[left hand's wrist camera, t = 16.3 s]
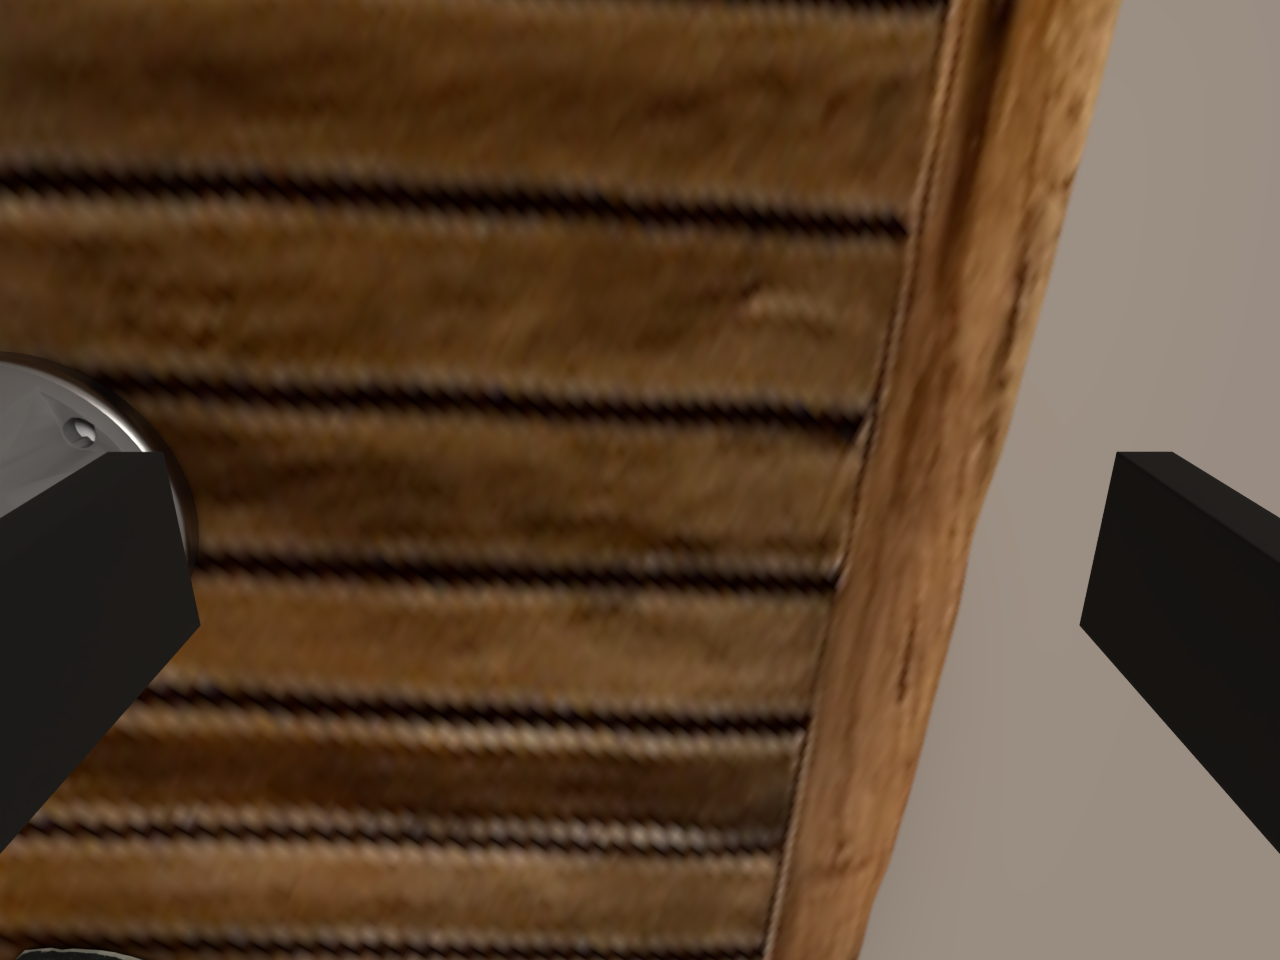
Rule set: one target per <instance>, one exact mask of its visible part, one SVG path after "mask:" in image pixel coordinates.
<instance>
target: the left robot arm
mask: <svg viewBox="0 0 1280 960" xmlns="http://www.w3.org/2000/svg"><path fill="white" fill-rule="evenodd" d="M198 539H199V535H198V520H197V513H196V508H195V504H194V500H193V496H192V493H191V490H190V487H189V485H188V482H187V479H186V477H185V475H184V473H183V471H182V469H181V467H180V465H179V463H178V461H177V460H176V458H175V456H174V455H173V453H172V451H171V450H170V449H169V447H168V446H167V444H166V443H165V442H164V440H163V439H162V437H161V436H160V435H159V434H158V433H157V431H156V430H155V429H154V428H153V427H152V426H151V424H150V423H149V422H148V421H147V420H146V419H145V418H144V417H143V416H142V415H141V414H140V413H139V412H138V411H137V410H135V409H134V408H133V407H132V406H131V405H130V404H128V403H127V402H126V401H125V400H124V399H122V398H121V397H119V396H118V395H117V394H115V393H114V392H113V391H111V390H110V389H108V388H107V387H105V386H103V385H102V384H100V383H99V382H97V381H95V380H94V379H92V378H90V377H88V376H86V375H84V374H82V373H80V372H78V371H76V370H73V369H71V368H69V367H66V366H64V365H61V364H58V363H55V362H52V361H49V360H46V359H43V358H39V357H34V356H30V355H25V354H18V353H11V352H0V853H1V852H2V851H3V850H4V849H5V848H6V847H7V845H8V844H9V843H10V842H11V841H12V840H13V839H14V837H15V836H16V835H17V834H18V833H19V832H20V831H21V829H22V828H23V827H24V826H25V825H26V824H27V823H28V821H29V820H30V819H31V818H32V817H33V816H34V815H35V813H36V812H37V811H38V810H39V809H40V808H41V807H42V805H43V804H44V803H45V802H46V801H47V800H48V799H49V798H50V796H51V795H52V794H53V793H54V792H55V791H56V790H57V788H58V787H59V786H60V785H61V784H62V783H63V782H64V780H65V779H66V778H67V777H68V776H69V775H70V774H71V772H72V771H73V770H74V769H75V768H76V767H77V766H78V764H79V763H80V762H81V761H82V760H83V759H84V758H85V756H86V755H87V754H88V753H89V752H90V751H91V750H92V748H93V747H94V746H95V745H96V744H97V743H98V742H99V740H100V739H101V738H102V737H103V736H104V735H105V734H106V732H107V731H108V730H109V729H110V728H111V727H112V726H113V725H114V723H115V722H116V721H117V720H118V719H119V718H120V717H121V715H122V714H123V713H124V712H125V711H126V710H127V709H128V707H129V706H130V705H131V704H132V703H133V702H134V701H135V699H136V698H137V697H138V696H139V695H140V694H141V693H142V691H143V690H144V689H145V688H146V687H147V686H148V685H149V683H150V682H151V681H152V680H153V679H154V678H155V677H156V675H157V674H158V673H159V672H160V671H161V670H162V669H163V667H164V666H165V665H166V664H167V663H168V662H169V661H170V659H171V658H172V657H173V656H174V655H175V654H176V653H177V652H178V650H179V649H180V648H181V647H182V646H183V645H184V644H185V642H186V641H187V640H188V639H189V638H190V637H191V636H192V634H193V633H194V632H195V631H196V630H197V629H198V628H199V626H200V621H199V616H198V611H197V607H196V602H195V597H194V593H193V588H192V583H191V579H190V578H191V575H192V572H193V569H194V566H195V562H196V557H197V552H198ZM1080 626H1081V628H1082V629H1083V630H1084V631H1085V632H1086V633H1087V634H1088V635H1089V637H1090V638H1091V639H1092V640H1093V641H1094V642H1095V643H1096V645H1097V646H1098V647H1099V648H1100V649H1101V650H1102V652H1103V653H1104V654H1105V655H1106V656H1107V657H1108V658H1109V659H1110V661H1111V662H1112V663H1113V664H1114V665H1115V666H1116V667H1117V669H1118V670H1119V671H1120V672H1121V673H1122V674H1123V675H1124V677H1125V678H1126V679H1127V680H1128V681H1129V682H1130V683H1131V685H1132V686H1133V687H1134V688H1135V689H1136V690H1137V691H1138V693H1139V694H1140V695H1141V696H1142V697H1143V698H1144V699H1145V701H1146V702H1147V703H1148V704H1149V705H1150V706H1151V707H1152V709H1153V710H1154V711H1155V712H1156V713H1157V714H1158V715H1159V717H1160V718H1161V719H1162V720H1163V721H1164V722H1165V723H1166V725H1167V726H1168V727H1169V728H1170V729H1171V730H1172V731H1173V732H1174V734H1175V735H1176V736H1177V737H1178V738H1179V739H1180V740H1181V742H1182V743H1183V744H1184V745H1185V746H1186V747H1187V748H1188V750H1189V751H1190V752H1191V753H1192V754H1193V755H1194V756H1195V758H1196V759H1197V760H1198V761H1199V762H1200V763H1201V764H1202V766H1203V767H1204V768H1205V769H1206V770H1207V771H1208V772H1209V774H1210V775H1211V776H1212V777H1213V778H1214V779H1215V780H1216V782H1217V783H1218V784H1219V785H1220V786H1221V787H1222V788H1223V789H1224V791H1225V792H1226V793H1227V794H1228V795H1229V796H1230V798H1231V799H1232V800H1233V801H1234V802H1235V803H1236V804H1237V805H1238V807H1239V808H1240V809H1241V810H1242V811H1243V812H1244V813H1245V815H1246V816H1247V817H1248V818H1249V819H1250V820H1251V821H1252V823H1253V824H1254V825H1255V826H1256V827H1257V828H1258V829H1259V831H1260V832H1261V833H1262V834H1263V835H1264V836H1265V837H1266V839H1267V840H1268V841H1269V842H1270V843H1271V844H1272V845H1273V847H1274V848H1275V849H1276V850H1277V851H1278V852H1279V853H1280V518H1279V517H1277V516H1276V515H1274V514H1273V513H1271V512H1269V511H1268V510H1266V509H1264V508H1263V507H1261V506H1259V505H1258V504H1256V503H1255V502H1253V501H1251V500H1250V499H1248V498H1247V497H1245V496H1243V495H1242V494H1240V493H1238V492H1237V491H1235V490H1233V489H1232V488H1230V487H1229V486H1227V485H1225V484H1224V483H1222V482H1221V481H1219V480H1217V479H1216V478H1214V477H1212V476H1211V475H1209V474H1208V473H1206V472H1204V471H1203V470H1201V469H1199V468H1198V467H1196V466H1195V465H1193V464H1191V463H1190V462H1188V461H1186V460H1185V459H1183V458H1182V457H1180V456H1178V455H1177V454H1175V453H1173V452H1117V453H1116V458H1115V462H1114V467H1113V471H1112V476H1111V481H1110V485H1109V490H1108V495H1107V499H1106V504H1105V509H1104V513H1103V518H1102V523H1101V528H1100V532H1099V537H1098V541H1097V546H1096V551H1095V555H1094V560H1093V565H1092V569H1091V574H1090V579H1089V583H1088V588H1087V593H1086V597H1085V602H1084V607H1083V611H1082V616H1081V621H1080Z"/></svg>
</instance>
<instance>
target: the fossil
mask: <svg viewBox="0 0 1280 960" xmlns="http://www.w3.org/2000/svg"><path fill="white" fill-rule="evenodd" d="M15 960H142V959H138V958H135V957H132V956H127V955H122V954H118V953H115V952H108V951H102V950H85V949H65V950H60V949H55V948H45V949H32V950H25V951H24V952H23V953H22V954H21V955H20V956H19V957H17V958H16V959H15Z"/></svg>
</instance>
